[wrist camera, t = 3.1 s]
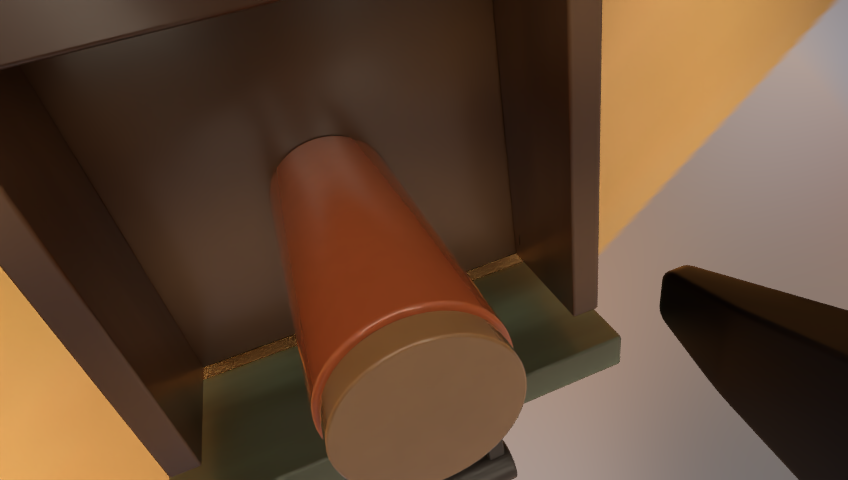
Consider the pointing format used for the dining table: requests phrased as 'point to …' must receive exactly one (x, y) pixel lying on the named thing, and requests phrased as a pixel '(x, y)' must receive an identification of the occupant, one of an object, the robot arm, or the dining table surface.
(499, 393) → the spice jar
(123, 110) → the drawer
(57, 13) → the cabinet
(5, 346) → the dining table surface
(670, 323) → the robot arm
